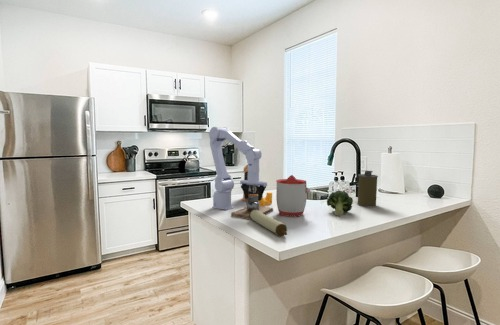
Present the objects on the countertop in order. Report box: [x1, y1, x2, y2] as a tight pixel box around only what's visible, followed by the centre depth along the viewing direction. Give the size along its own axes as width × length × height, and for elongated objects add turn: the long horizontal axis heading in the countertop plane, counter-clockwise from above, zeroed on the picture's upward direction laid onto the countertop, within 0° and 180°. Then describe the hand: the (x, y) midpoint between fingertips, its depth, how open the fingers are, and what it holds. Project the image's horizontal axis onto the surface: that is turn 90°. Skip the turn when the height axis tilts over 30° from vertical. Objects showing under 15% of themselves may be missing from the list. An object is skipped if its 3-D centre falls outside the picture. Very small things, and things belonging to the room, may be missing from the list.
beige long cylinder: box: [249, 209, 288, 237], centre depth 126 cm, size 32×6×5 cm, turn 25°
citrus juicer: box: [275, 174, 312, 217], centre depth 147 cm, size 16×17×20 cm
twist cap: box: [246, 194, 259, 211], centre depth 148 cm, size 6×8×7 cm
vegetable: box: [326, 189, 354, 217], centre depth 151 cm, size 12×13×15 cm
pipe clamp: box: [258, 192, 273, 207], centre depth 168 cm, size 12×4×6 cm, turn 144°
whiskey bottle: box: [242, 164, 259, 202], centre depth 180 cm, size 10×10×32 cm
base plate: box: [231, 206, 274, 220], centre depth 149 cm, size 13×20×2 cm, turn 150°
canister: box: [356, 170, 379, 208], centre depth 169 cm, size 11×10×20 cm
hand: (253, 199), depth 148 cm, fingers open, 7 cm apart
